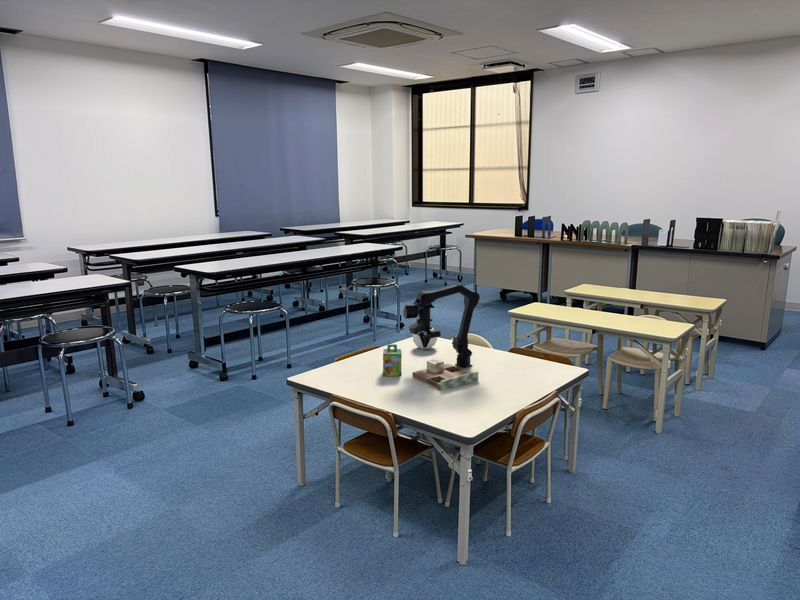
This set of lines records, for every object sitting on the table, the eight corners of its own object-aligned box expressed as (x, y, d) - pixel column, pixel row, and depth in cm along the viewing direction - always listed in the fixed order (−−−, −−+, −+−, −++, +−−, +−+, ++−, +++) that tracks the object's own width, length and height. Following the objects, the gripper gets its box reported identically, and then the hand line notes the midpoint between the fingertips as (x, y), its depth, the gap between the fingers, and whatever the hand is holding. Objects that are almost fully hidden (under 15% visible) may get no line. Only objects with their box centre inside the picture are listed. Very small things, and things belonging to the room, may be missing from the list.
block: (436, 367, 286) (436, 358, 285) (444, 370, 281) (444, 361, 280) (426, 369, 282) (426, 360, 281) (434, 372, 277) (434, 363, 276)
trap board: (447, 368, 291) (447, 359, 290) (478, 380, 273) (478, 371, 272) (412, 377, 279) (412, 368, 278) (442, 390, 261) (442, 381, 260)
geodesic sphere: (424, 332, 338) (416, 316, 328) (445, 335, 330) (437, 319, 320) (413, 352, 330) (404, 336, 321) (434, 356, 322) (426, 340, 313)
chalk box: (383, 377, 280) (382, 348, 277) (383, 371, 289) (382, 342, 286) (401, 376, 280) (401, 347, 277) (401, 370, 289) (401, 342, 286)
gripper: (400, 315, 286) (401, 346, 289) (422, 323, 271) (423, 354, 274) (418, 312, 292) (418, 342, 296) (441, 319, 277) (441, 350, 280)
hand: (424, 347), depth 286 cm, fingers closed
